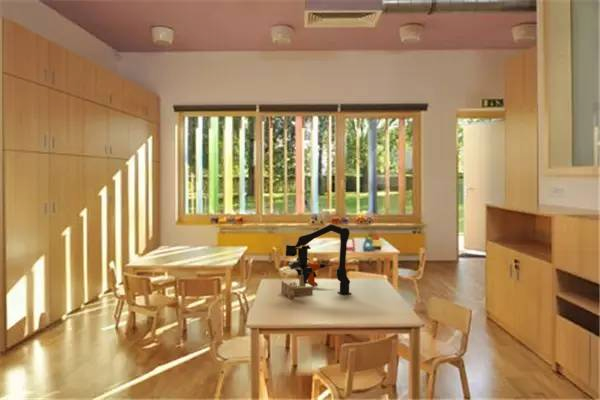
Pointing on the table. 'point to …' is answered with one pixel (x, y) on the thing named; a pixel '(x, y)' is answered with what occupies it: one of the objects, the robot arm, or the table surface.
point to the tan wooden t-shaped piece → (294, 290)
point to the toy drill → (313, 275)
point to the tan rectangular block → (293, 285)
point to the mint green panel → (302, 283)
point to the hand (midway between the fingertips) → (302, 282)
